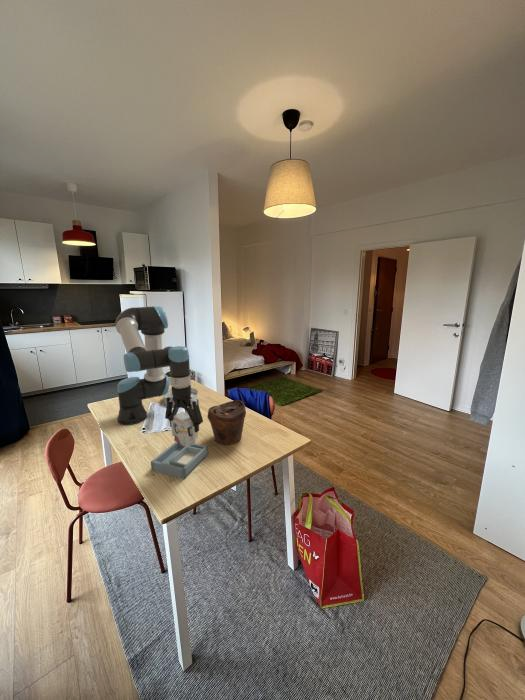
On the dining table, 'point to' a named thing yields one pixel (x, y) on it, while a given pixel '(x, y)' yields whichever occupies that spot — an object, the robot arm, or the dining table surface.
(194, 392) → the dish
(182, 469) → the walled box
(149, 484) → the dining table surface
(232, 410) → the brown pot
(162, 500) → the dining table surface
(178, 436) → the ink box
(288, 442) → the dining table surface
